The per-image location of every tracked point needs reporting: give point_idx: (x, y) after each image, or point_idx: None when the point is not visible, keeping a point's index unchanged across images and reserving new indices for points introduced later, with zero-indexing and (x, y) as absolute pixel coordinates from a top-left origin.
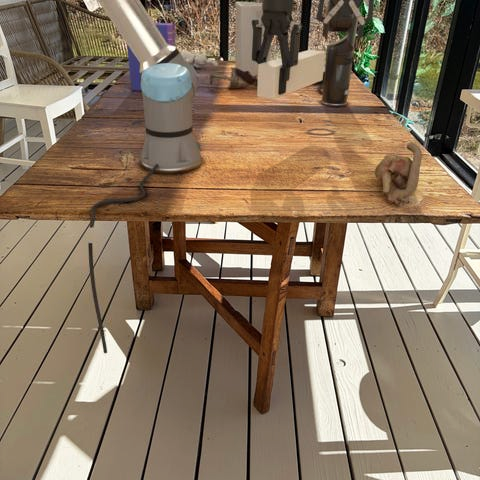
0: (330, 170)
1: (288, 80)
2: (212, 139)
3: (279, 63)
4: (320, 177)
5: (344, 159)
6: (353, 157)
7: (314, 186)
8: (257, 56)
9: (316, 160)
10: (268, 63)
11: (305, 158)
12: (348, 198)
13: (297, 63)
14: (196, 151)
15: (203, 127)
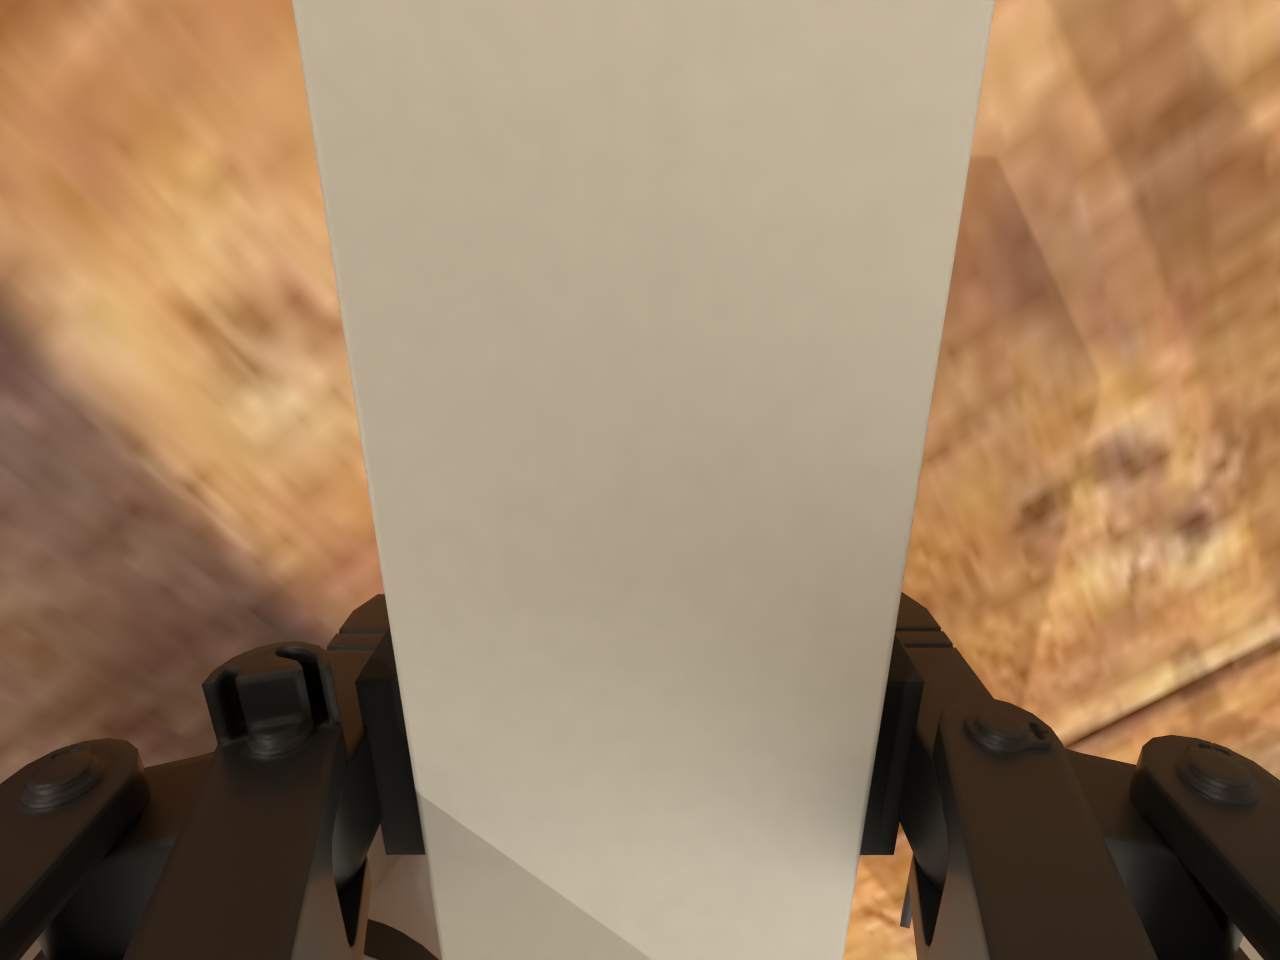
0: (1119, 494)
1: (902, 600)
2: (275, 492)
3: (748, 774)
4: (1091, 600)
5: (1167, 283)
6: (1222, 206)
7: (1090, 696)
8: (124, 925)
9: (1001, 409)
10: (554, 892)
11: (929, 421)
12: (1265, 715)
13: (1270, 789)
14: None
15: (24, 335)
